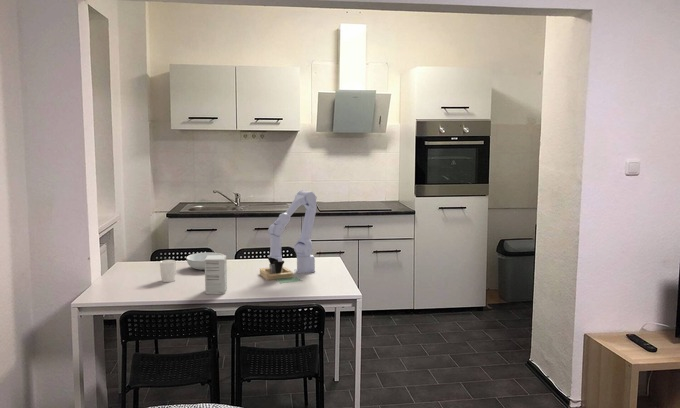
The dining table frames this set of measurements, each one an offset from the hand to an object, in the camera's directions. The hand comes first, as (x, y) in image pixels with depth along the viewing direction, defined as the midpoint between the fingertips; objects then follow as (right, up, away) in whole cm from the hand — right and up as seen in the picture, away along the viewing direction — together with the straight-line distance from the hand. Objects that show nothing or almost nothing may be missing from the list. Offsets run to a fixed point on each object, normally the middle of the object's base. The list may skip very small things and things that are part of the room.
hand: (276, 272), depth 297 cm
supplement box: (-25, -6, -28) cm, 38 cm away
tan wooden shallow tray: (0, -2, 0) cm, 2 cm away
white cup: (-54, -3, -8) cm, 55 cm away
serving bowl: (-41, 0, +19) cm, 45 cm away
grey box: (0, -2, 0) cm, 2 cm away
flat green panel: (+7, -3, -8) cm, 12 cm away
